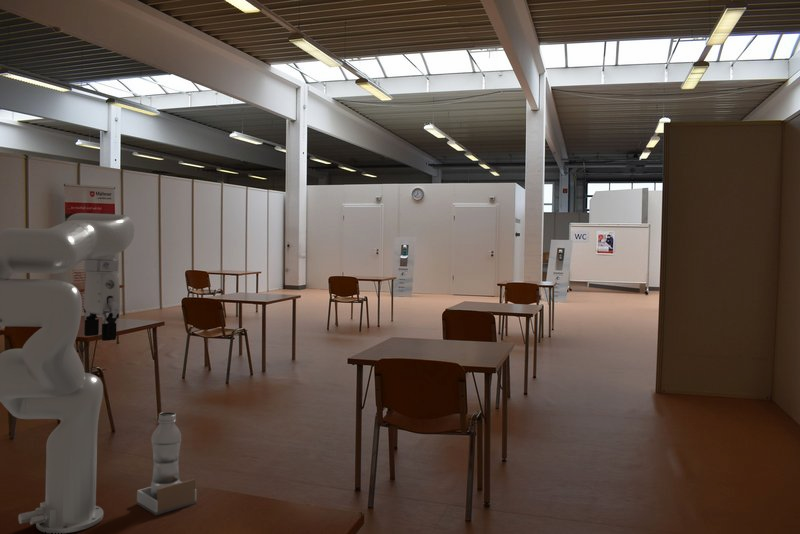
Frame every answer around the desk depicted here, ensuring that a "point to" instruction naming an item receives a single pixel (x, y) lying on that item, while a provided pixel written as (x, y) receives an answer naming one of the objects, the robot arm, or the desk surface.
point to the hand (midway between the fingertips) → (99, 337)
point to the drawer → (168, 497)
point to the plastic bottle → (165, 453)
